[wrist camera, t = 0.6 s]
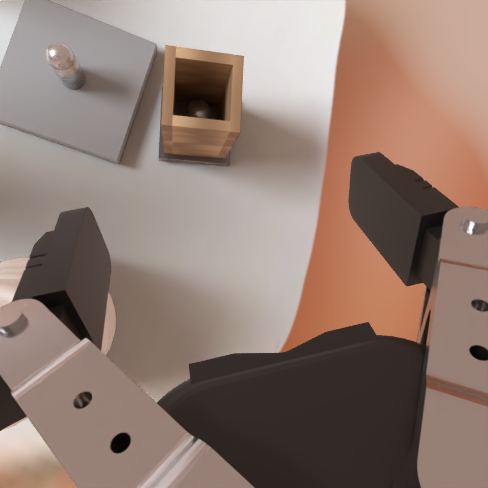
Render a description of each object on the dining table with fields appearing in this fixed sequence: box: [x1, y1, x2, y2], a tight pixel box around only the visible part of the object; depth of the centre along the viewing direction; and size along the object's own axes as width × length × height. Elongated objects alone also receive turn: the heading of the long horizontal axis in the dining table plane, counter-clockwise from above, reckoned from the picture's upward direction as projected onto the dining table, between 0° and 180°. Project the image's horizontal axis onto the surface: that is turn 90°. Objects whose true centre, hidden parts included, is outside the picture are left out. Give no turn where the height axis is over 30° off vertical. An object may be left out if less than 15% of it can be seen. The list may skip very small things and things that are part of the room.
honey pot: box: [0, 257, 116, 429], centre depth 28 cm, size 13×13×18 cm
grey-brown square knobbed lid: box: [159, 87, 230, 166], centre depth 37 cm, size 7×7×5 cm
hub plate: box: [0, 0, 157, 164], centre depth 34 cm, size 12×12×7 cm
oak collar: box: [161, 45, 244, 159], centre depth 34 cm, size 6×6×9 cm
